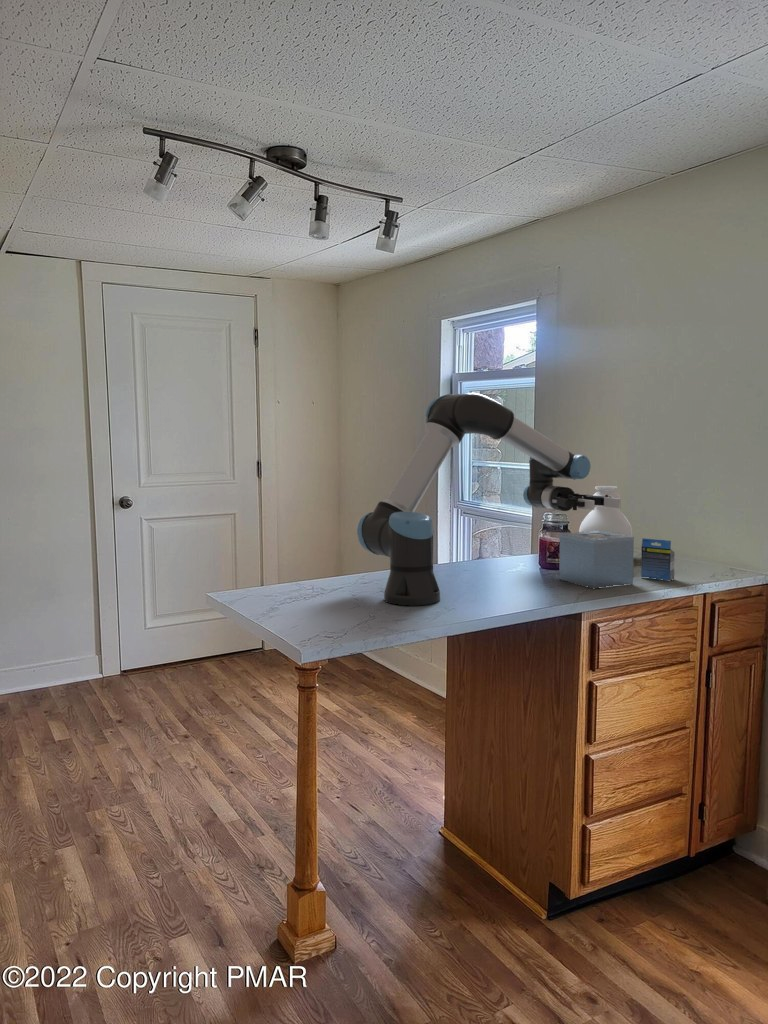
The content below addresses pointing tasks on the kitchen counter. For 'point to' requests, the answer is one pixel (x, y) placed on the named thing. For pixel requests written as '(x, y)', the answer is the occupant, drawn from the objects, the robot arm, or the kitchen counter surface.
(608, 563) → the grey box with opening
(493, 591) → the kitchen counter surface
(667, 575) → the label tape box
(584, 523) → the decorative vase
